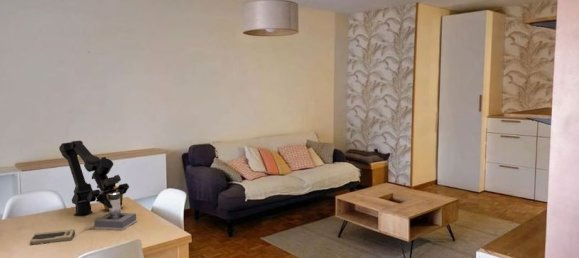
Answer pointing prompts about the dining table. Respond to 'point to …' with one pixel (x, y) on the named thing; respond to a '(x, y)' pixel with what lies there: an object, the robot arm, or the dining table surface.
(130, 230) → the dining table surface
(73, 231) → the computer
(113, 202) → the shiny metal cylinder
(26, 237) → the dining table surface
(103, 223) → the square plate with hole
